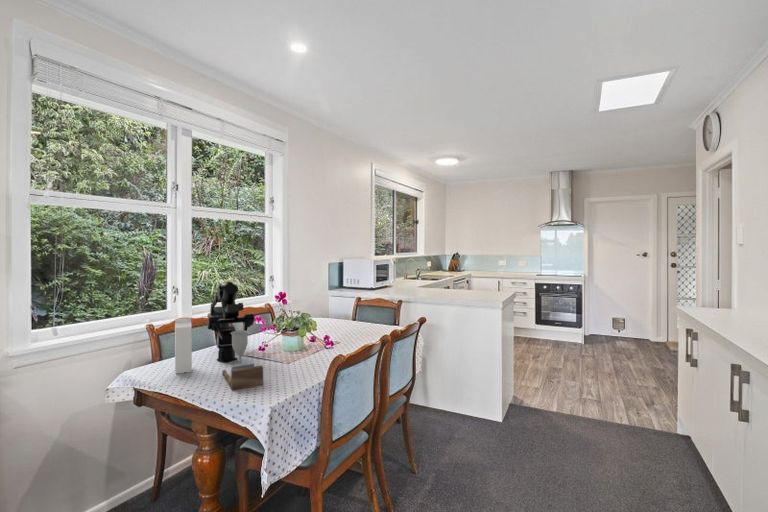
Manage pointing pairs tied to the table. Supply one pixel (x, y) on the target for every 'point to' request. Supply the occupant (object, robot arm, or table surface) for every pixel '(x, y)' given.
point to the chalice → (239, 343)
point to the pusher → (242, 366)
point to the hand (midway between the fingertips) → (234, 337)
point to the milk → (183, 345)
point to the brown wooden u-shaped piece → (244, 377)
